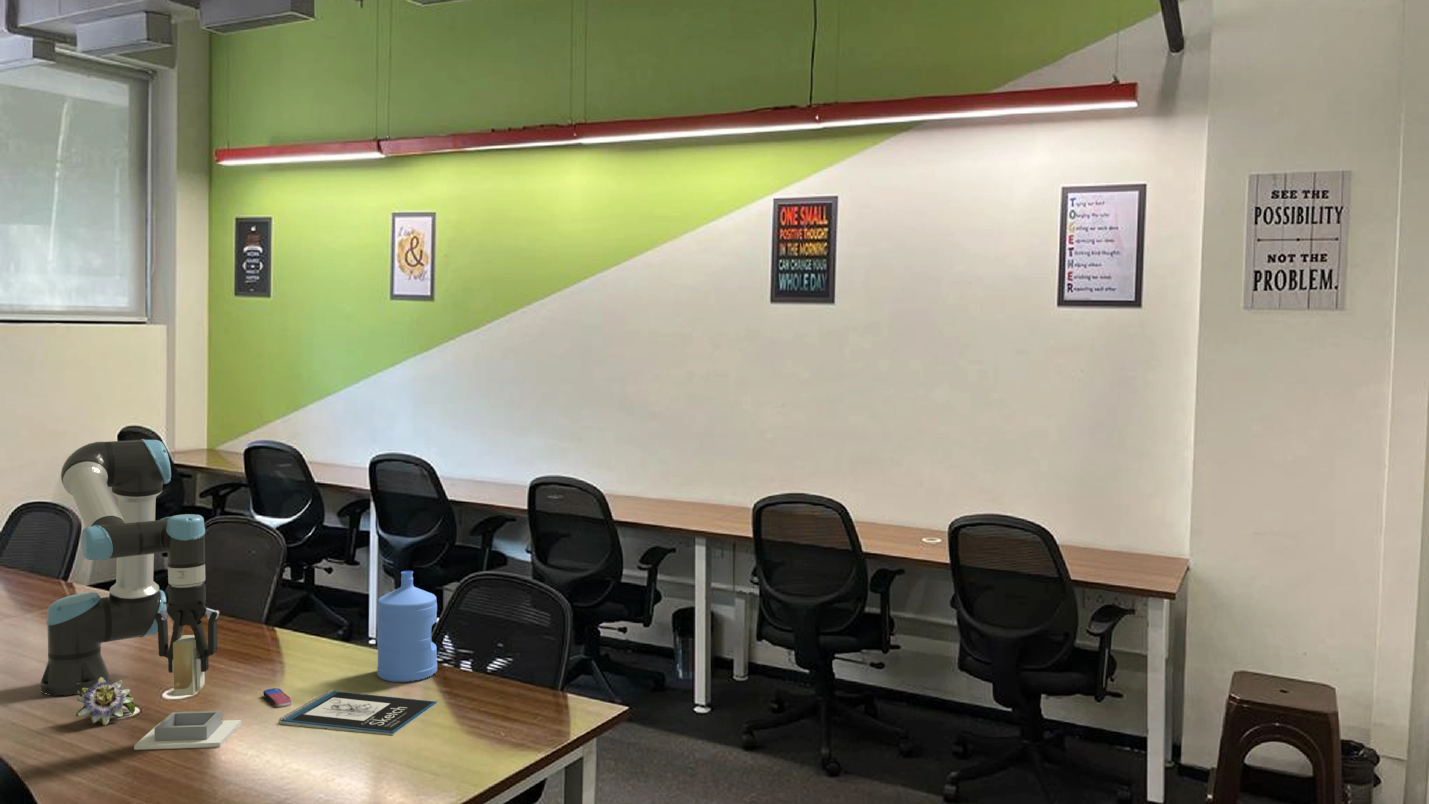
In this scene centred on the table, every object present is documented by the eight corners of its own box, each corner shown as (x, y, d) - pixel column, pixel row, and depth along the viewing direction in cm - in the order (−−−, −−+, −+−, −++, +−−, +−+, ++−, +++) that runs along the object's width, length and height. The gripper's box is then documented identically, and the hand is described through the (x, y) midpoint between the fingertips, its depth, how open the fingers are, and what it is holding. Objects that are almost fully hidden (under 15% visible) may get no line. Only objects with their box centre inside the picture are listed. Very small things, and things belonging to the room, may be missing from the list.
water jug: (401, 687, 273) (400, 581, 272) (365, 675, 283) (364, 572, 281) (449, 672, 286) (449, 571, 284) (413, 661, 295) (413, 563, 294)
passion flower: (106, 747, 245) (74, 715, 238) (91, 726, 252) (60, 695, 245) (150, 711, 251) (120, 680, 244) (134, 693, 258) (105, 662, 251)
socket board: (134, 749, 230) (133, 731, 230) (160, 726, 244) (160, 709, 244) (220, 747, 232) (219, 729, 232) (241, 724, 246) (241, 707, 246)
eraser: (293, 706, 259) (293, 699, 259) (276, 710, 256) (276, 703, 256) (278, 693, 268) (278, 686, 268) (262, 696, 265) (262, 689, 265)
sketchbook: (393, 738, 240) (393, 729, 240) (276, 726, 246) (276, 718, 246) (437, 706, 261) (437, 698, 261) (328, 696, 267) (328, 688, 267)
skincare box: (184, 687, 240) (183, 634, 239) (204, 686, 240) (203, 634, 240) (172, 696, 234) (171, 642, 233) (193, 695, 234) (191, 641, 233)
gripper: (138, 588, 231) (141, 692, 232) (221, 586, 233) (223, 690, 234) (153, 580, 239) (155, 681, 240) (233, 579, 241) (234, 679, 242)
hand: (188, 685), depth 237 cm, fingers closed on skincare box, 4 cm apart
